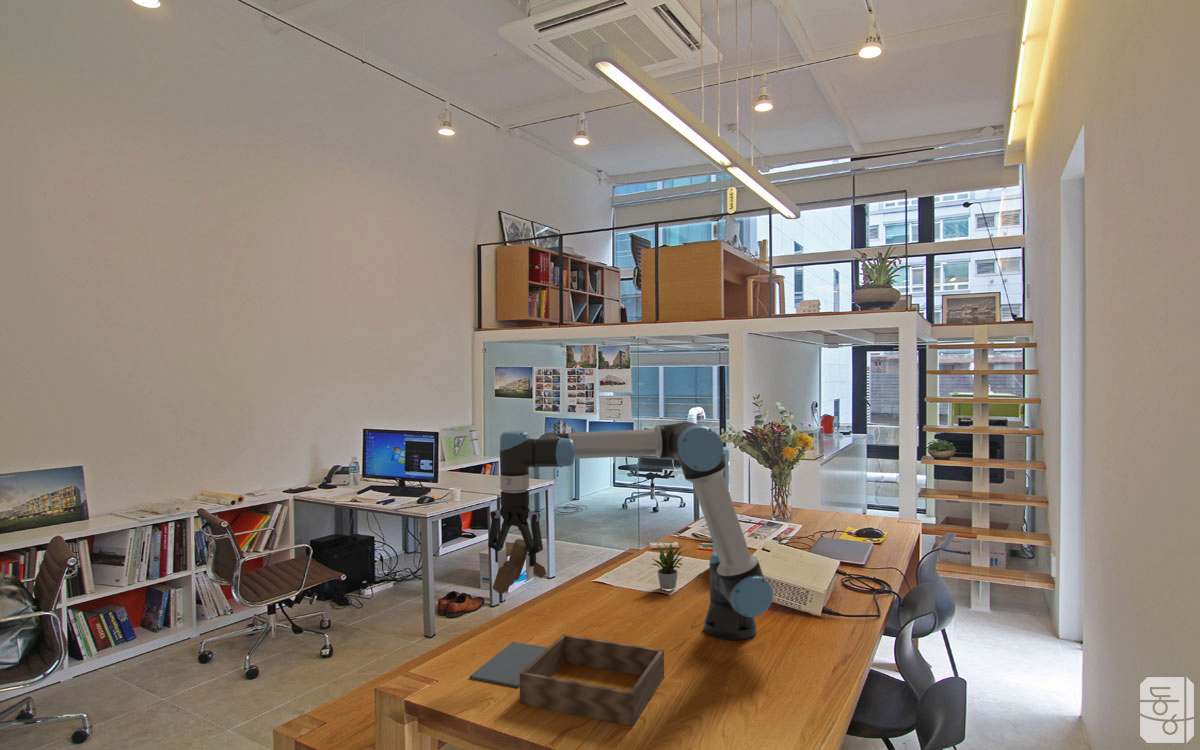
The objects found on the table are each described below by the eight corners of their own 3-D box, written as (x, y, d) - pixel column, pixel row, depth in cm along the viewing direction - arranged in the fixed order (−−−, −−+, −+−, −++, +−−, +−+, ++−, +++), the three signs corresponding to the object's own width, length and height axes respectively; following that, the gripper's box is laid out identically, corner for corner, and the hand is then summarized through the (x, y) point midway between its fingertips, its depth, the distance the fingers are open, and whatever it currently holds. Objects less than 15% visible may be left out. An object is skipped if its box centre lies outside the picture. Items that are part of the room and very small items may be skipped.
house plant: (698, 586, 232) (697, 540, 232) (681, 598, 220) (681, 550, 220) (662, 580, 240) (662, 535, 239) (644, 591, 228) (644, 544, 228)
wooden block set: (504, 604, 161) (516, 569, 159) (478, 586, 165) (489, 551, 163) (545, 580, 177) (556, 547, 175) (520, 563, 181) (531, 531, 178)
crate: (664, 677, 164) (663, 649, 164) (633, 726, 142) (632, 694, 142) (563, 660, 174) (563, 634, 174) (519, 703, 152) (519, 673, 152)
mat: (557, 651, 180) (557, 649, 180) (518, 687, 160) (518, 685, 160) (512, 643, 185) (512, 641, 185) (469, 678, 165) (469, 675, 165)
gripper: (473, 490, 172) (474, 576, 172) (543, 495, 164) (544, 585, 165) (488, 485, 179) (489, 568, 179) (556, 490, 171) (556, 576, 172)
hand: (515, 576), depth 172 cm, fingers closed on wooden block set, 8 cm apart
